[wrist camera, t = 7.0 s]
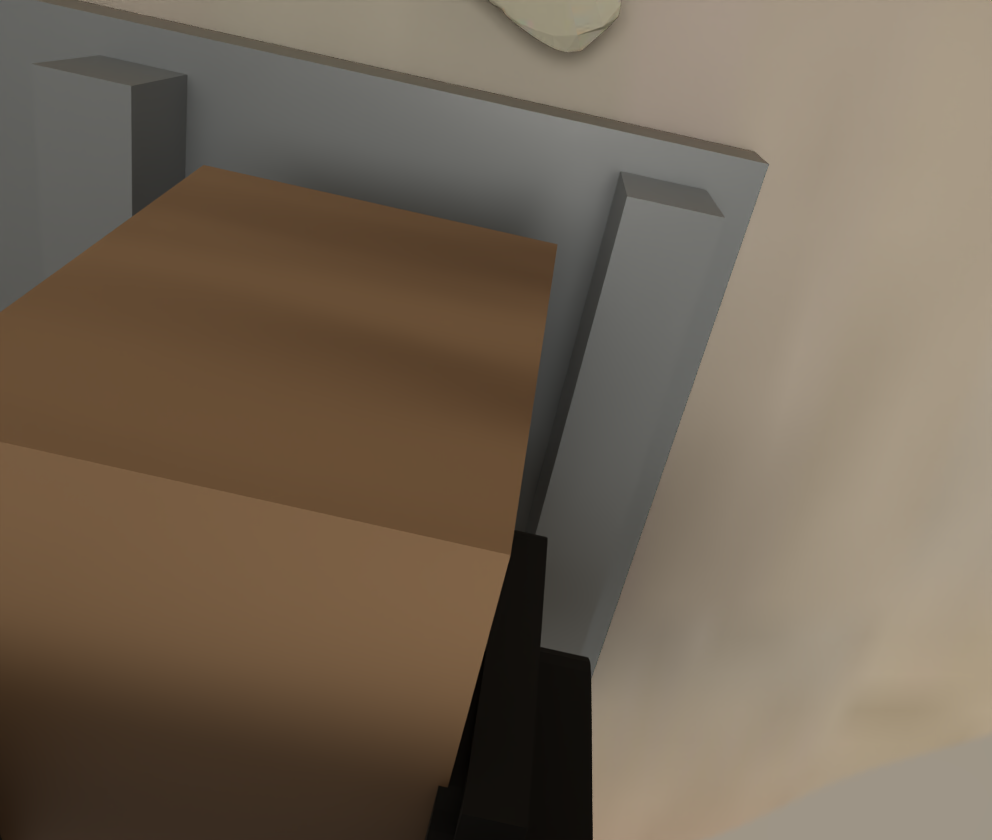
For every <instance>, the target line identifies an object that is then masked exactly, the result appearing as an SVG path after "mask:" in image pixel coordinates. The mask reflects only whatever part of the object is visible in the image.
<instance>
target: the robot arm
mask: <svg viewBox="0 0 992 840" xmlns="http://www.w3.org/2000/svg"><path fill="white" fill-rule="evenodd" d="M547 544H548V538H547V537H544V536H540V535H535V534H531V533H526V532H522V531H517V530H514V536H513V542H512V549H511V555H510V559H509V563H508V566H507V570H506V574H505V578H504V581H503V585H502V589H501V592H500V596H499V600H498V603H497V607H496V611H495V615H494V618H493V622H492V626H491V629H490V633H489V637H488V640H487V644H486V648H485V652H484V655H483V659H482V663H481V666H480V670H479V674H478V677H477V681H476V685H475V688H474V692H473V696H472V700H471V703H470V707H469V711H468V714H467V718H466V722H465V725H464V729H463V733H462V737H461V740H460V744H459V748H458V751H457V755H456V759H455V762H454V766H453V770H452V773H451V777H450V781H449V785H448V787H443V786H438V790H437V794H436V798H435V801H434V805H433V809H432V813H431V817H430V821H429V825H428V829H427V832H426V836H425V840H593V820H592V709H591V664H590V660H589V658H588V657H584V656H580V655H575V654H571V653H566V652H562V651H557V650H553V649H548V648H544V647H540V646H541V631H542V617H543V602H544V588H545V573H546V559H547ZM0 840H2V839H1V835H0Z"/></svg>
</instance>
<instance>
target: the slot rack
mask: <svg viewBox="0 0 992 840" xmlns="http://www.w3.org/2000/svg"><path fill="white" fill-rule="evenodd" d="M203 165H206V166H211V167H215V168H220V169H224V170H229V171H233V172H238V173H242V174H246V175H251V176H255V177H260V178H264V179H269V180H273V181H278V182H282V183H287V184H291V185H295V186H300V187H304V188H309V189H313V190H318V191H322V192H327V193H331V194H336V195H340V196H344V197H349V198H353V199H358V200H362V201H367V202H371V203H376V204H380V205H385V206H389V207H394V208H398V209H402V210H407V211H411V212H416V213H420V214H425V215H429V216H434V217H438V218H443V219H447V220H451V221H456V222H460V223H465V224H469V225H474V226H478V227H483V228H487V229H492V230H496V231H500V232H505V233H509V234H514V235H518V236H523V237H527V238H532V239H536V240H541V241H545V242H549V243H554V244H558V245H557V252H556V258H555V265H554V271H553V278H552V285H551V291H550V298H549V304H548V311H547V318H546V324H545V331H544V338H543V344H542V351H541V357H540V364H539V371H538V377H537V384H536V390H535V397H534V404H533V410H532V417H531V423H530V430H529V437H528V443H527V450H526V456H525V463H524V470H523V476H522V483H521V489H520V496H519V503H518V509H517V516H516V523H515V529H514V530H517V531H522V532H526V533H531V534H535V535H540V536H544V537H547V538H548V544H547V559H546V573H545V588H544V602H543V617H542V631H541V646H540V647H544V648H548V649H553V650H557V651H562V652H566V653H571V654H575V655H580V656H584V657H588V658H589V660H590V664H591V678H592V675H593V672H594V669H595V666H596V664H597V661H598V658H599V655H600V652H601V649H602V646H603V643H604V640H605V638H606V635H607V632H608V629H609V626H610V623H611V620H612V617H613V614H614V611H615V609H616V606H617V603H618V600H619V597H620V594H621V591H622V588H623V585H624V583H625V580H626V577H627V574H628V571H629V568H630V565H631V562H632V559H633V556H634V554H635V551H636V548H637V545H638V542H639V539H640V536H641V533H642V530H643V527H644V525H645V522H646V519H647V516H648V513H649V510H650V507H651V504H652V501H653V499H654V496H655V493H656V490H657V487H658V484H659V481H660V478H661V475H662V472H663V470H664V467H665V464H666V461H667V458H668V455H669V452H670V449H671V446H672V444H673V441H674V438H675V435H676V432H677V429H678V426H679V423H680V420H681V417H682V415H683V412H684V409H685V406H686V403H687V400H688V397H689V394H690V391H691V389H692V386H693V383H694V380H695V377H696V374H697V371H698V368H699V365H700V362H701V360H702V357H703V354H704V351H705V348H706V345H707V342H708V339H709V336H710V334H711V331H712V328H713V325H714V322H715V319H716V316H717V313H718V310H719V307H720V305H721V302H722V299H723V296H724V293H725V290H726V287H727V284H728V281H729V279H730V276H731V273H732V270H733V267H734V264H735V261H736V258H737V255H738V252H739V250H740V247H741V244H742V241H743V238H744V235H745V232H746V229H747V226H748V224H749V221H750V218H751V215H752V212H753V209H754V206H755V203H756V200H757V197H758V195H759V192H760V189H761V186H762V183H763V180H764V177H765V174H766V171H767V168H768V166H769V164H768V163H767V162H766V161H765V160H763V159H762V158H761V157H760V156H759V155H758V154H757V153H755V152H753V151H749V150H744V149H740V148H735V147H731V146H726V145H722V144H718V143H713V142H709V141H704V140H700V139H695V138H691V137H686V136H682V135H677V134H673V133H668V132H664V131H659V130H655V129H650V128H646V127H642V126H637V125H633V124H628V123H624V122H619V121H615V120H610V119H606V118H601V117H597V116H592V115H588V114H583V113H579V112H574V111H570V110H566V109H561V108H557V107H552V106H548V105H543V104H539V103H534V102H530V101H525V100H521V99H516V98H512V97H507V96H503V95H498V94H494V93H490V92H485V91H481V90H476V89H472V88H467V87H463V86H458V85H454V84H449V83H445V82H440V81H436V80H431V79H427V78H422V77H418V76H414V75H409V74H405V73H400V72H396V71H391V70H387V69H382V68H378V67H373V66H369V65H364V64H360V63H355V62H351V61H346V60H342V59H338V58H333V57H329V56H324V55H320V54H315V53H311V52H306V51H302V50H297V49H293V48H288V47H284V46H279V45H275V44H270V43H266V42H261V41H257V40H253V39H248V38H244V37H239V36H235V35H230V34H226V33H221V32H217V31H212V30H208V29H203V28H199V27H194V26H190V25H185V24H181V23H177V22H172V21H168V20H163V19H159V18H154V17H150V16H145V15H141V14H136V13H132V12H127V11H123V10H118V9H114V8H109V7H105V6H101V5H96V4H92V3H87V2H83V1H78V0H0V312H1V311H2V310H4V309H5V308H7V307H8V306H9V305H11V304H12V303H14V302H15V301H16V300H18V299H19V298H20V297H22V296H23V295H25V294H26V293H27V292H29V291H30V290H31V289H33V288H34V287H36V286H37V285H38V284H40V283H41V282H43V281H44V280H45V279H47V278H48V277H49V276H51V275H52V274H54V273H55V272H56V271H58V270H59V269H60V268H62V267H63V266H65V265H66V264H67V263H69V262H70V261H72V260H73V259H74V258H76V257H77V256H78V255H80V254H81V253H83V252H84V251H85V250H87V249H88V248H90V247H91V246H92V245H94V244H95V243H96V242H98V241H99V240H101V239H102V238H103V237H105V236H106V235H107V234H109V233H110V232H112V231H113V230H114V229H116V228H117V227H119V226H120V225H121V224H123V223H124V222H125V221H127V220H128V219H130V218H131V217H132V216H134V215H135V214H136V213H138V212H139V211H141V210H142V209H143V208H145V207H146V206H148V205H149V204H150V203H152V202H153V201H154V200H156V199H157V198H159V197H160V196H161V195H163V194H164V193H165V192H167V191H168V190H170V189H171V188H172V187H174V186H175V185H177V184H178V183H179V182H181V181H182V180H183V179H185V178H186V177H188V176H189V175H190V174H192V173H193V172H194V171H196V170H197V169H199V168H200V167H201V166H203Z"/></svg>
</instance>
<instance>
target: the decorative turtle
mask: <svg viewBox="0 0 992 840" xmlns="http://www.w3.org/2000/svg"><path fill="white" fill-rule="evenodd" d="M489 1H490V2H491V3H492V4H493V5H495V6H497V7H499V8H501V10H502V11H503V12H504V13H505V15H506V16H507V17H508V18H510V19H511V20H512V21H513V22H514V23H516V24H517V25H518V26H520V27H521V28H522V29H523V30H525V31H526V32H528V33H529V34H531V35H532V36H533V37H535V38H536V39H538V40H540V41H541V42H543V43H545V44H547V45H548V46H550V47H552V48H554V49H557V50H560V51H564V52H574V51H582V50H583V49H584V48H585V47H586V46H587V45H589V44H590V43H591V42H592V41H593V40H594V39H595V38H597V37H598V36H599V35H600V34H601V33H602V32H603V31H605V30H606V29H607V28H608V27H609V26H610V25H611V24H612V23H613V22H614V21H615V20H616V19H617V18H618V16H619V11H620V6H621V3H620V0H489Z"/></svg>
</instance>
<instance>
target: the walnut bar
mask: <svg viewBox="0 0 992 840" xmlns="http://www.w3.org/2000/svg"><path fill="white" fill-rule="evenodd" d="M557 245H558V244H554V243H549V242H545V241H541V240H536V239H532V238H527V237H523V236H518V235H514V234H509V233H505V232H500V231H496V230H492V229H487V228H483V227H478V226H474V225H469V224H465V223H460V222H456V221H451V220H447V219H443V218H438V217H434V216H429V215H425V214H420V213H416V212H411V211H407V210H402V209H398V208H394V207H389V206H385V205H380V204H376V203H371V202H367V201H362V200H358V199H353V198H349V197H344V196H340V195H336V194H331V193H327V192H322V191H318V190H313V189H309V188H304V187H300V186H295V185H291V184H287V183H282V182H278V181H273V180H269V179H264V178H260V177H255V176H251V175H246V174H242V173H238V172H233V171H229V170H224V169H220V168H215V167H211V166H206V165H203V166H201V167H200V168H199V169H197V170H196V171H194V172H193V173H192V174H190V175H189V176H188V177H186V178H185V179H183V180H182V181H181V182H179V183H178V184H177V185H175V186H174V187H172V188H171V189H170V190H168V191H167V192H165V193H164V194H163V195H161V196H160V197H159V198H157V199H156V200H154V201H153V202H152V203H150V204H149V205H148V206H146V207H145V208H143V209H142V210H141V211H139V212H138V213H136V214H135V215H134V216H132V217H131V218H130V219H128V220H127V221H125V222H124V223H123V224H121V225H120V226H119V227H117V228H116V229H114V230H113V231H112V232H110V233H109V234H107V235H106V236H105V237H103V238H102V239H101V240H99V241H98V242H96V243H95V244H94V245H92V246H91V247H90V248H88V249H87V250H85V251H84V252H83V253H81V254H80V255H78V256H77V257H76V258H74V259H73V260H72V261H70V262H69V263H67V264H66V265H65V266H63V267H62V268H60V269H59V270H58V271H56V272H55V273H54V274H52V275H51V276H49V277H48V278H47V279H45V280H44V281H43V282H41V283H40V284H38V285H37V286H36V287H34V288H33V289H31V290H30V291H29V292H27V293H26V294H25V295H23V296H22V297H20V298H19V299H18V300H16V301H15V302H14V303H12V304H11V305H9V306H8V307H7V308H5V309H4V310H2V311H1V312H0V835H1V839H2V840H425V836H426V832H427V829H428V825H429V821H430V817H431V813H432V809H433V805H434V801H435V798H436V794H437V790H438V786H443V787H448V785H449V781H450V777H451V773H452V770H453V766H454V762H455V759H456V755H457V751H458V748H459V744H460V740H461V737H462V733H463V729H464V725H465V722H466V718H467V714H468V711H469V707H470V703H471V700H472V696H473V692H474V688H475V685H476V681H477V677H478V674H479V670H480V666H481V663H482V659H483V655H484V652H485V648H486V644H487V640H488V637H489V633H490V629H491V626H492V622H493V618H494V615H495V611H496V607H497V603H498V600H499V596H500V592H501V589H502V585H503V581H504V578H505V574H506V570H507V566H508V563H509V559H510V555H511V549H512V542H513V536H514V529H515V523H516V516H517V509H518V503H519V496H520V489H521V483H522V476H523V470H524V463H525V456H526V450H527V443H528V437H529V430H530V423H531V417H532V410H533V404H534V397H535V390H536V384H537V377H538V371H539V364H540V357H541V351H542V344H543V338H544V331H545V324H546V318H547V311H548V304H549V298H550V291H551V285H552V278H553V271H554V265H555V258H556V252H557Z"/></svg>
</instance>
